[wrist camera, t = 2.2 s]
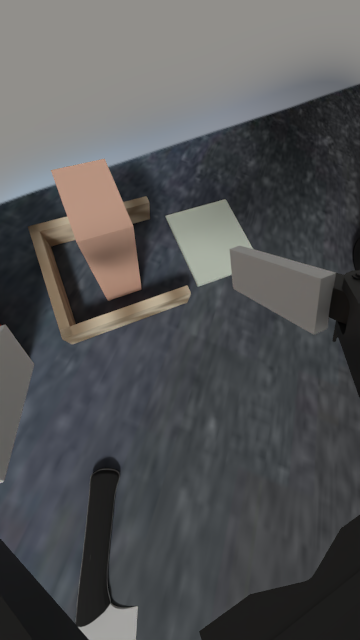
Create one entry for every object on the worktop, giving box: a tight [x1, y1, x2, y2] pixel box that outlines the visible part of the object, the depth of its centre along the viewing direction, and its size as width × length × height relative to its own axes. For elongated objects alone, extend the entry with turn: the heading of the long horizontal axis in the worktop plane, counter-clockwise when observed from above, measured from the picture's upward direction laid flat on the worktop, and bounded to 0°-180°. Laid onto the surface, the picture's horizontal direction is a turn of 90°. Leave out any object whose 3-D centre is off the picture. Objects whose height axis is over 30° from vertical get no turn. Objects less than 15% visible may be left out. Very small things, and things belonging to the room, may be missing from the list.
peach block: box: [51, 159, 142, 301], centre depth 28 cm, size 5×8×14 cm, turn 23°
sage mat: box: [166, 199, 253, 287], centre depth 37 cm, size 11×13×1 cm
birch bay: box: [28, 196, 191, 344], centre depth 33 cm, size 17×16×4 cm
